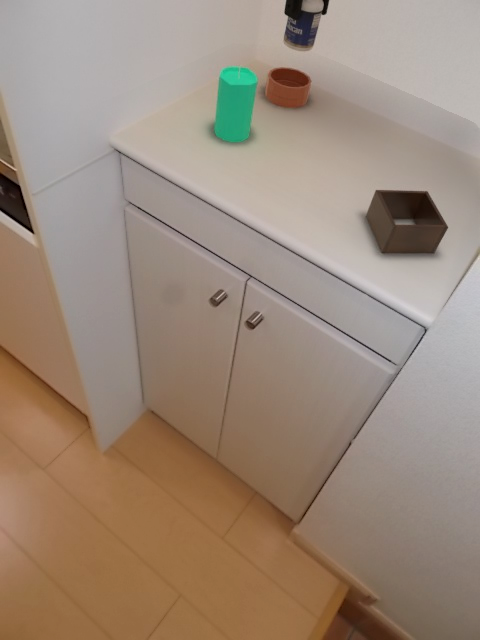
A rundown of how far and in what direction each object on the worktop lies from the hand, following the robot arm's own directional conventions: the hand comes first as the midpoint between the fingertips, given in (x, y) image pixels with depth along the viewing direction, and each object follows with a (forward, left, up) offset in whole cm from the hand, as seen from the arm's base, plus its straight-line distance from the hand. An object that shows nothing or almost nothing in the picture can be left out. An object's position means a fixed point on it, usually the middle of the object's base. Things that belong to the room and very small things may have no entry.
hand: (305, 13), depth 87 cm
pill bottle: (0, 0, -5) cm, 5 cm away
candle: (+12, +13, -16) cm, 24 cm away
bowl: (0, 0, -15) cm, 15 cm away
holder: (-9, +39, -15) cm, 43 cm away
